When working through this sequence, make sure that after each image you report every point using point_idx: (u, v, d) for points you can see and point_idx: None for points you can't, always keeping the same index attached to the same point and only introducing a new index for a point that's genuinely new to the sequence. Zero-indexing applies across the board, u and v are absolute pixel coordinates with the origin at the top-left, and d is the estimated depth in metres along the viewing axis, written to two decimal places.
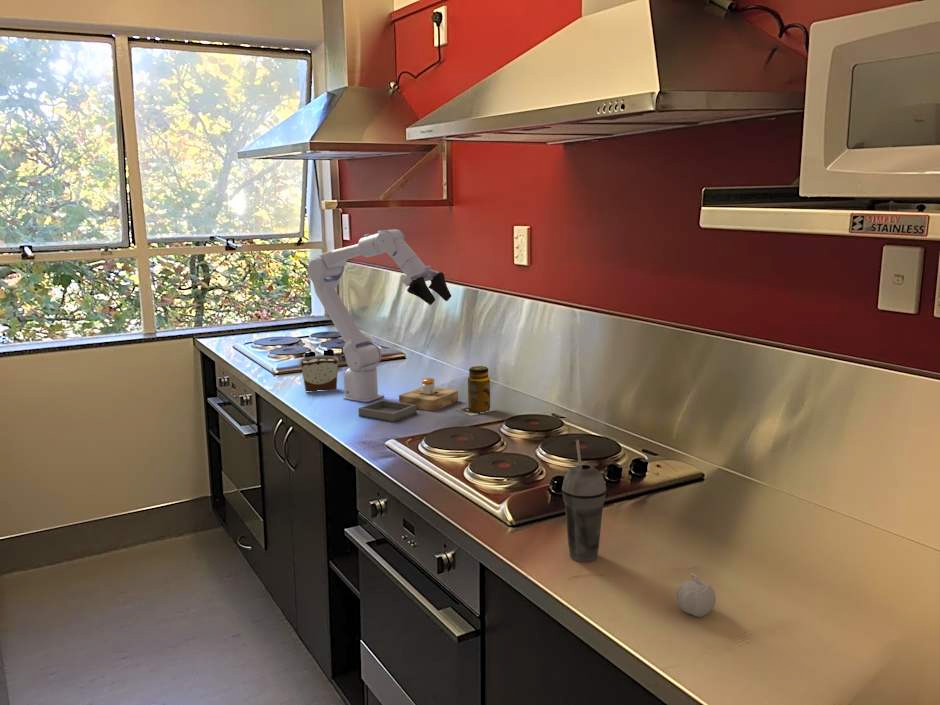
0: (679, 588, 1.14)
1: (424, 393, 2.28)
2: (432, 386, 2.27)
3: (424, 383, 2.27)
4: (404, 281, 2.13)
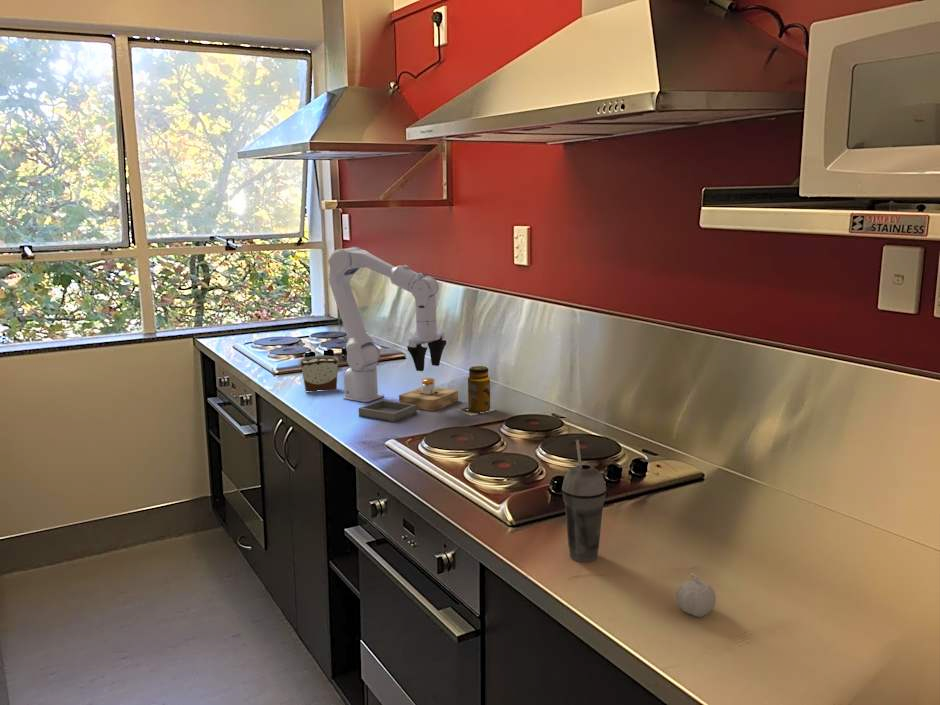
0: (679, 588, 1.14)
1: (424, 393, 2.28)
2: (432, 386, 2.27)
3: (424, 383, 2.27)
4: (410, 342, 2.20)
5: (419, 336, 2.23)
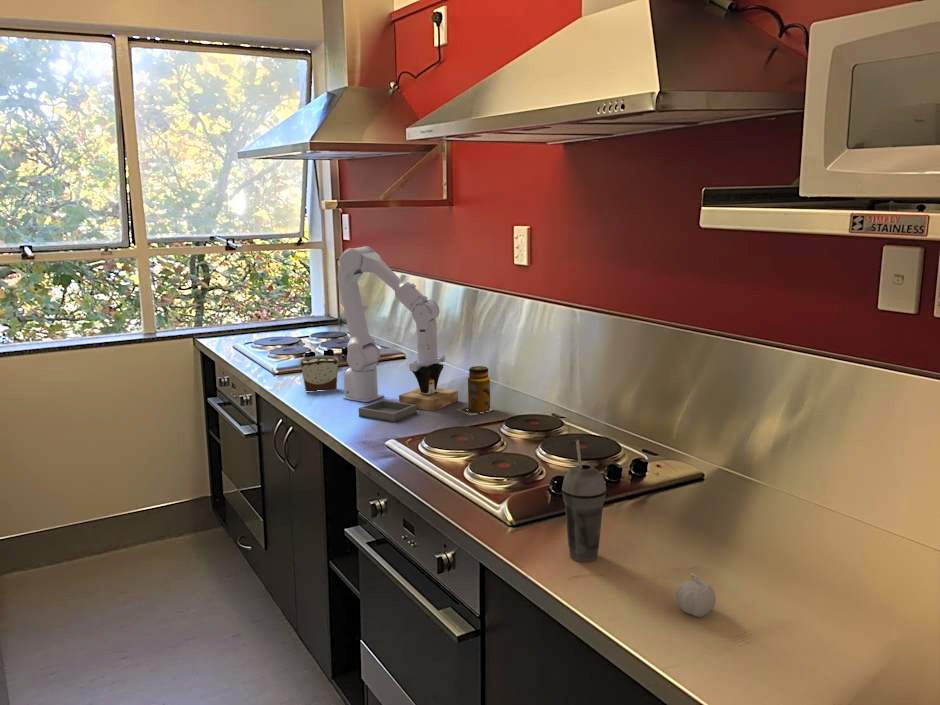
0: (679, 588, 1.14)
1: (424, 393, 2.28)
2: (432, 386, 2.27)
3: None
4: (410, 366, 2.21)
5: (420, 360, 2.25)
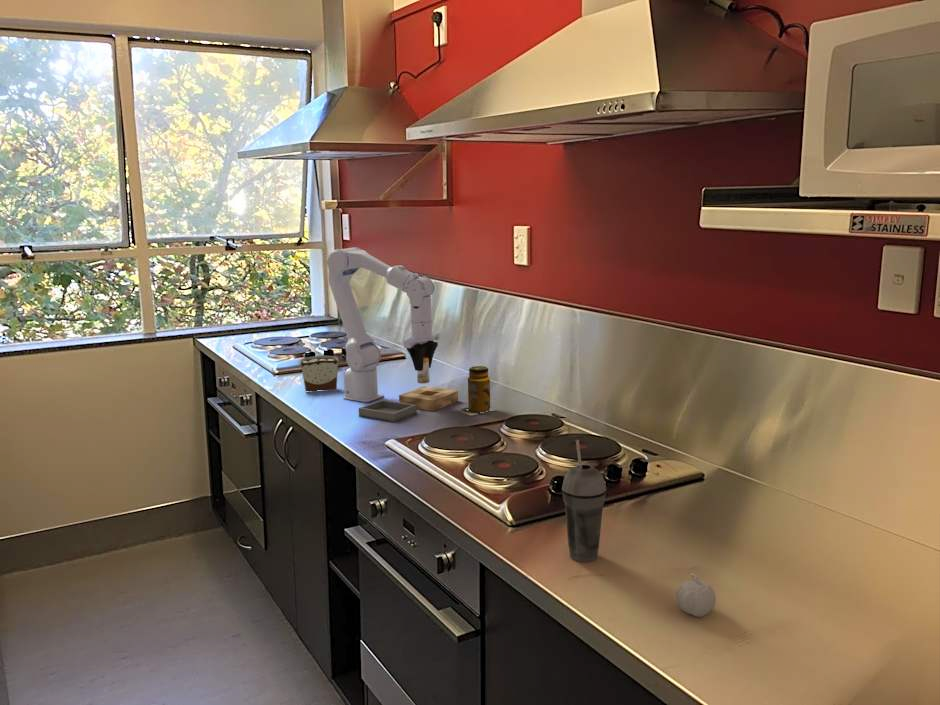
0: (679, 588, 1.14)
1: (418, 371, 2.25)
2: (427, 364, 2.25)
3: None
4: (405, 343, 2.19)
5: (414, 337, 2.22)
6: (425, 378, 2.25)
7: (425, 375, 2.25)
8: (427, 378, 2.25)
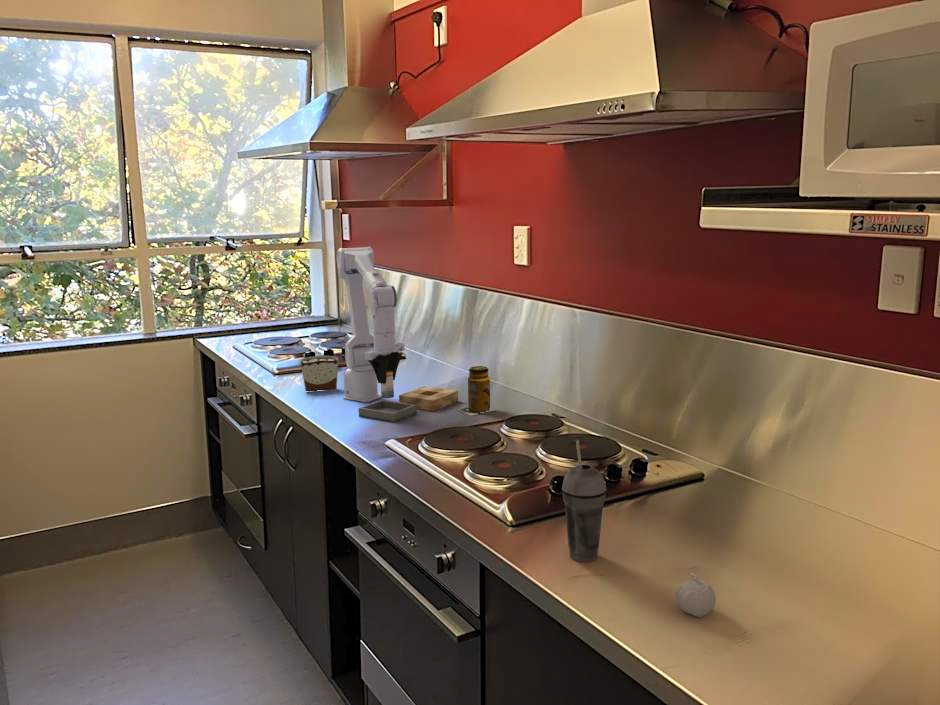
0: (679, 588, 1.14)
1: (382, 386, 2.16)
2: (391, 378, 2.15)
3: None
4: (366, 354, 2.09)
5: (376, 348, 2.13)
6: (390, 393, 2.16)
7: (390, 390, 2.16)
8: (391, 393, 2.16)
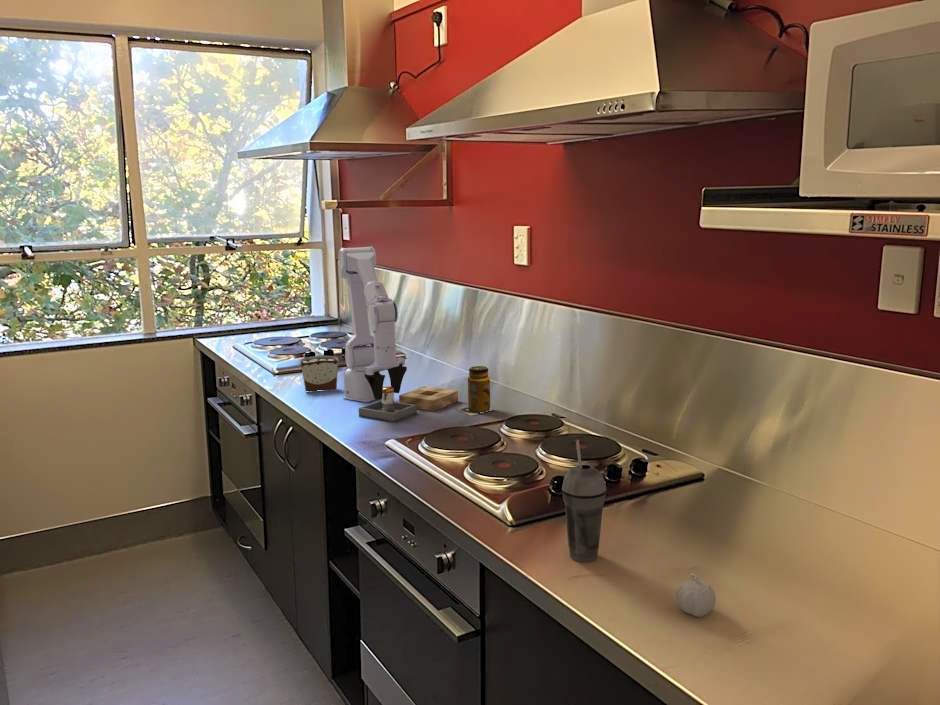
0: (679, 588, 1.14)
1: (383, 402, 2.17)
2: (391, 395, 2.16)
3: (383, 392, 2.16)
4: (367, 369, 2.10)
5: (377, 363, 2.14)
6: (390, 409, 2.17)
7: (390, 406, 2.17)
8: (392, 409, 2.17)
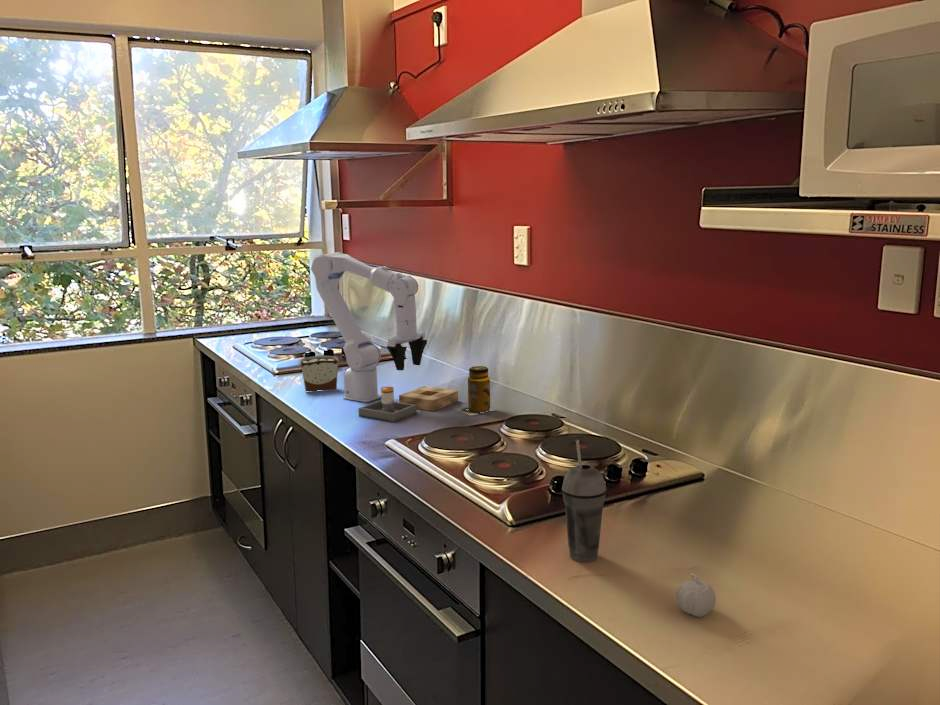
0: (679, 588, 1.14)
1: (383, 402, 2.17)
2: (391, 395, 2.16)
3: (383, 392, 2.16)
4: (389, 341, 2.21)
5: (399, 335, 2.25)
6: (390, 409, 2.17)
7: (390, 406, 2.17)
8: (392, 409, 2.17)
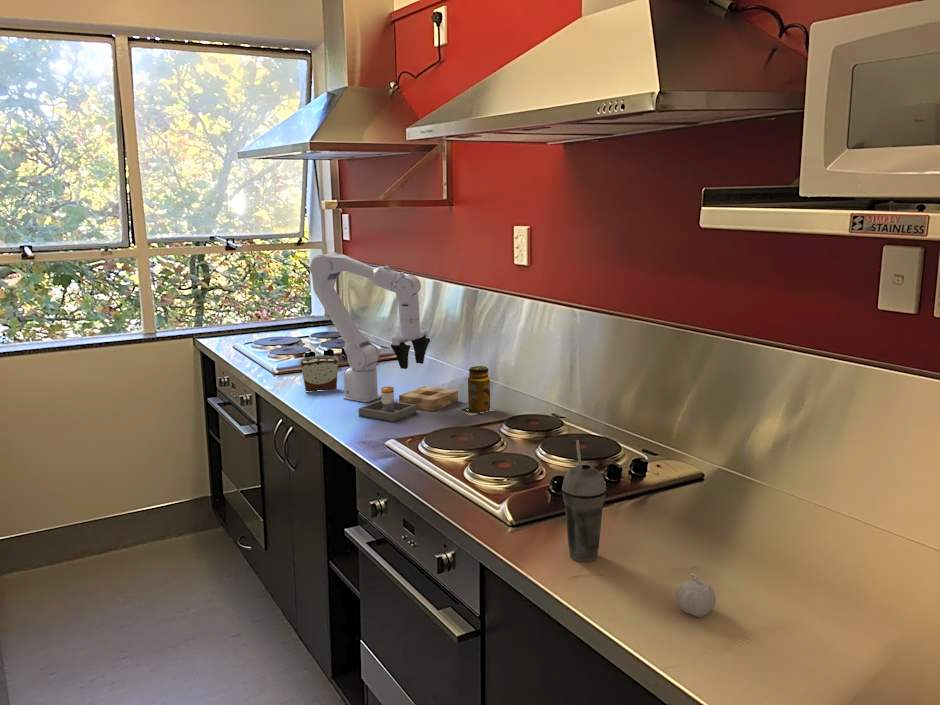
0: (679, 588, 1.14)
1: (383, 402, 2.17)
2: (391, 395, 2.16)
3: (383, 392, 2.16)
4: (393, 340, 2.23)
5: (402, 334, 2.27)
6: (390, 409, 2.17)
7: (390, 406, 2.17)
8: (392, 409, 2.17)
